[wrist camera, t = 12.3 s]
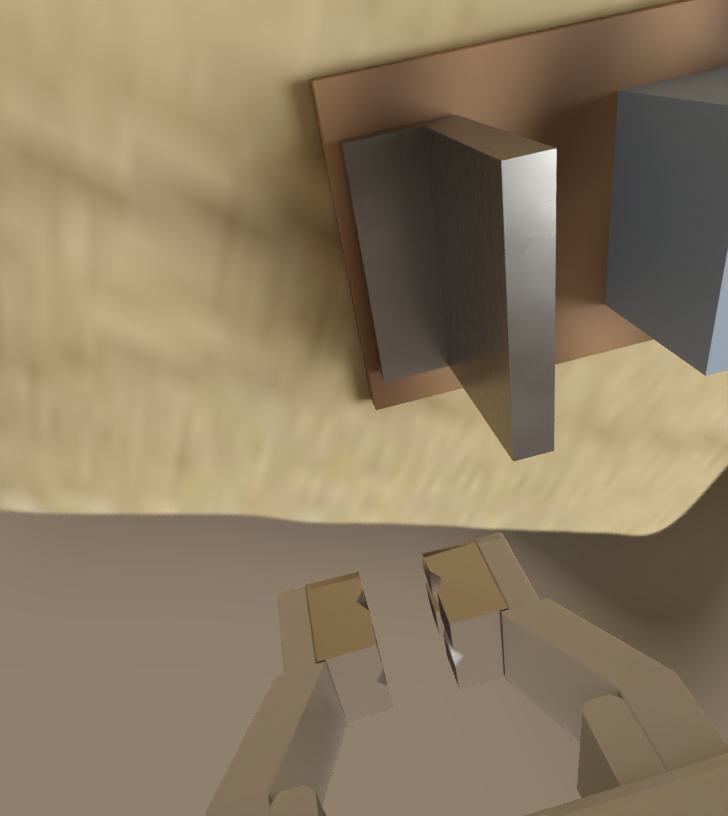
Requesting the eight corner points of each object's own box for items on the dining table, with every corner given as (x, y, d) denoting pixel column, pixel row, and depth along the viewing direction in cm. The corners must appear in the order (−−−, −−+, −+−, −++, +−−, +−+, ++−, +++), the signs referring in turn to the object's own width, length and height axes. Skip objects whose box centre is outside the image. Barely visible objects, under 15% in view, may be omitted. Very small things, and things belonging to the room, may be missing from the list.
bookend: (456, 114, 22) (556, 147, 15) (474, 350, 27) (553, 450, 21) (338, 140, 22) (388, 186, 15) (380, 373, 27) (430, 483, 20)
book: (738, 63, 23) (910, 73, 17) (704, 280, 28) (829, 343, 22) (618, 90, 23) (752, 108, 17) (605, 304, 28) (705, 375, 22)
